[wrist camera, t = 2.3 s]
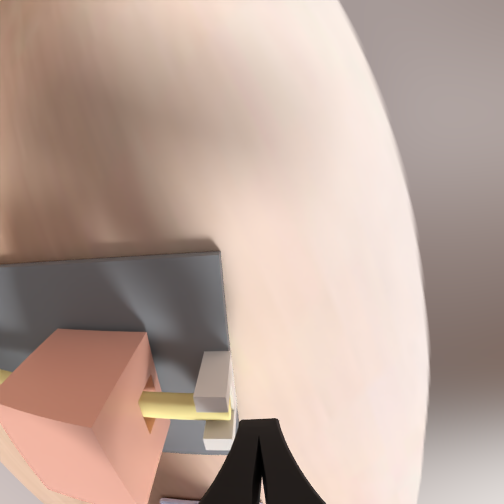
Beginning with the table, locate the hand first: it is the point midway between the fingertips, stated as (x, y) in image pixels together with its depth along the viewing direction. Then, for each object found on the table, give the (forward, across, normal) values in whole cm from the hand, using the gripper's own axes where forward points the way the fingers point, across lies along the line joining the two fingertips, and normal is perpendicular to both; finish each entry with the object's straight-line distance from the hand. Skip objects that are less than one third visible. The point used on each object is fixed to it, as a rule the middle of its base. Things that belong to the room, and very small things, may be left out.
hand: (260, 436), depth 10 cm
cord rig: (+4, +13, 0) cm, 14 cm away
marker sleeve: (+4, +7, 0) cm, 8 cm away
